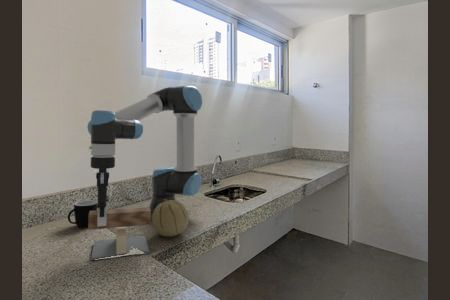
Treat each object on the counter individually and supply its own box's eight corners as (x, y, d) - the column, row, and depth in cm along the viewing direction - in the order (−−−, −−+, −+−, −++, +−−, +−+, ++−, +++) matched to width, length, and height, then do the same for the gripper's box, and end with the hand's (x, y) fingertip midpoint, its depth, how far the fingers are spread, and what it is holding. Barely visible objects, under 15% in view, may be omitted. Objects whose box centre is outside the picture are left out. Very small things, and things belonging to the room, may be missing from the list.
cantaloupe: (189, 241, 103) (190, 203, 102) (150, 243, 100) (151, 204, 99) (187, 228, 117) (188, 194, 116) (152, 229, 114) (153, 195, 113)
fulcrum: (144, 238, 105) (145, 220, 104) (149, 253, 92) (149, 233, 91) (94, 244, 98) (94, 225, 97) (91, 261, 85) (91, 240, 84)
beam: (148, 220, 100) (148, 207, 100) (150, 224, 96) (150, 210, 95) (89, 224, 92) (89, 210, 92) (88, 229, 88) (88, 215, 88)
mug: (89, 220, 122) (89, 199, 122) (101, 225, 117) (101, 202, 117) (62, 228, 112) (62, 204, 111) (73, 233, 107) (73, 208, 107)
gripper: (92, 154, 97) (92, 216, 99) (88, 158, 81) (87, 233, 82) (114, 154, 100) (114, 214, 101) (115, 158, 84) (113, 231, 85)
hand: (102, 222), depth 92 cm, fingers closed on beam, 5 cm apart
